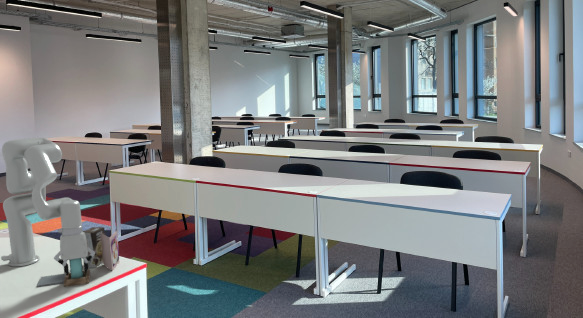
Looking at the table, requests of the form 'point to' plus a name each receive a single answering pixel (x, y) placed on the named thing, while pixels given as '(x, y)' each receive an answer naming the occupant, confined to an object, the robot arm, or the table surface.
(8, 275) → the table surface
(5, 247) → the table surface
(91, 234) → the coffee box
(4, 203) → the robot arm
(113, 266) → the greeting card
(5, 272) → the table surface
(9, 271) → the table surface
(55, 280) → the mat
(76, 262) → the peg
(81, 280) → the pocket
